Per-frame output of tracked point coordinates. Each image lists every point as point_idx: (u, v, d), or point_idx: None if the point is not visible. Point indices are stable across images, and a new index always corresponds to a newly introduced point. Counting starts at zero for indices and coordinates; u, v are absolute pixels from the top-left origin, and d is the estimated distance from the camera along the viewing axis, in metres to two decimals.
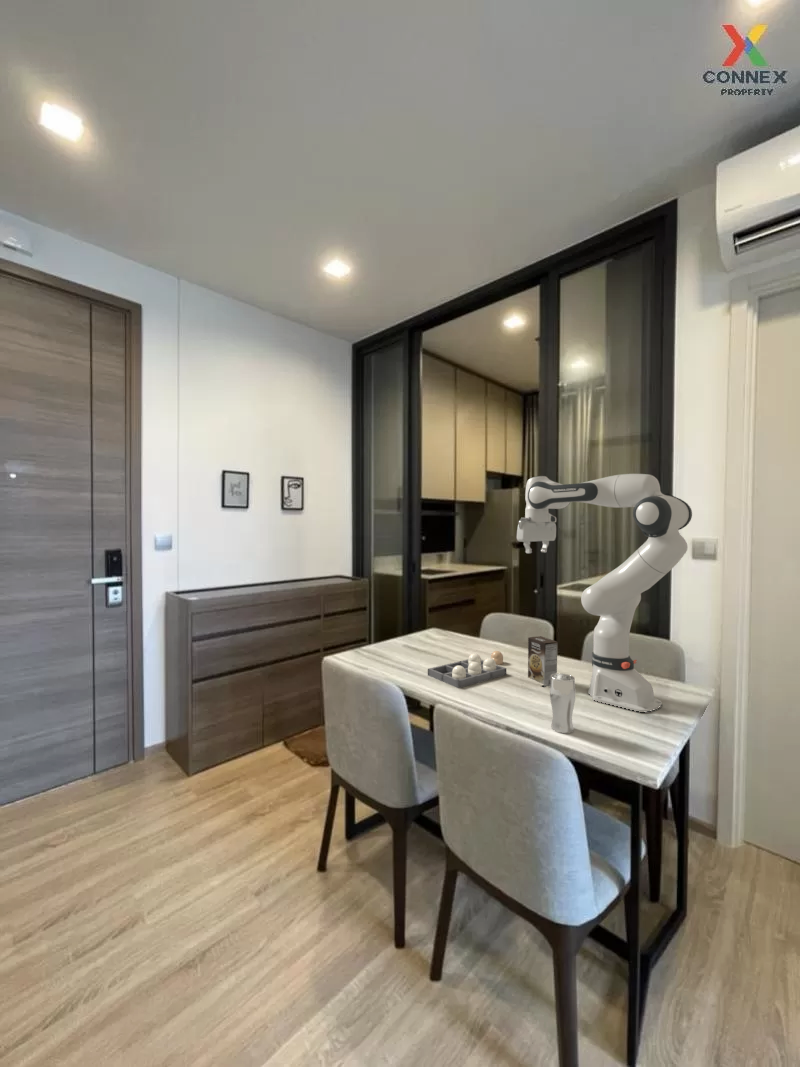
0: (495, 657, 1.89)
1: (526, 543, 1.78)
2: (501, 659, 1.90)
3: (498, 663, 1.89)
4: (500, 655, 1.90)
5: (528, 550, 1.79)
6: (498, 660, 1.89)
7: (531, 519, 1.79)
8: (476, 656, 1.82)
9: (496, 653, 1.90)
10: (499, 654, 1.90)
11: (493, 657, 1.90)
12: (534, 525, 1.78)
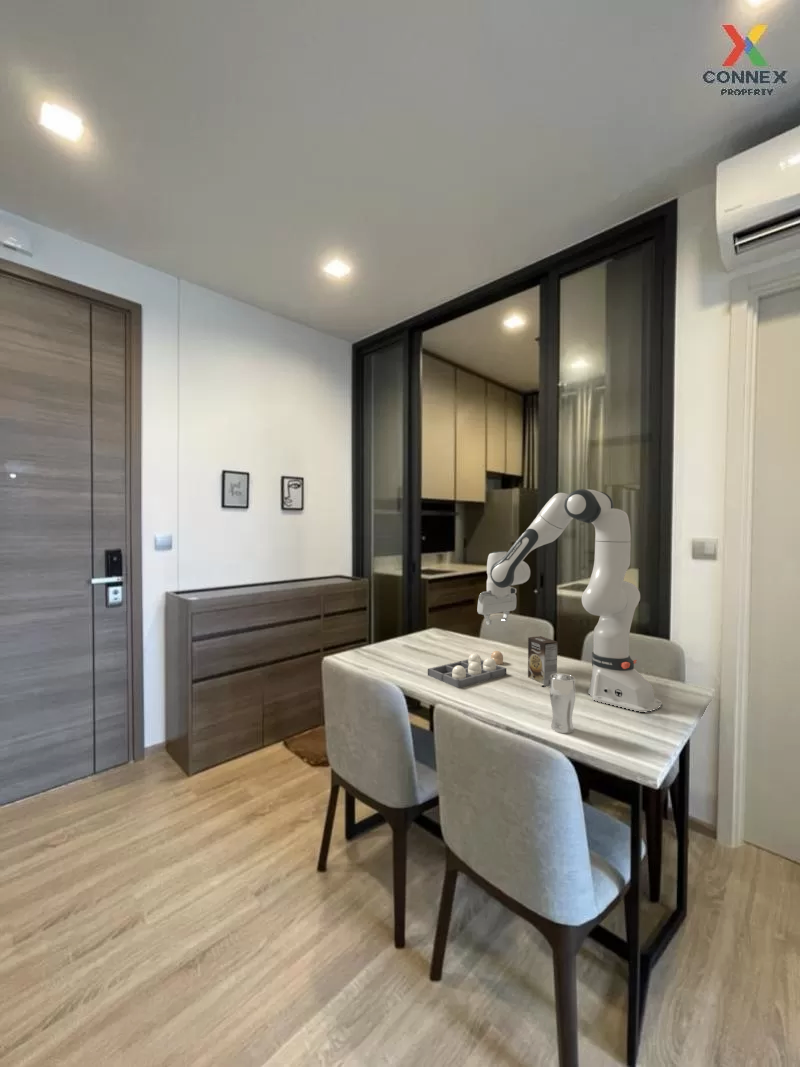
0: (495, 657, 1.89)
1: (486, 615, 1.87)
2: (501, 659, 1.90)
3: (498, 663, 1.89)
4: (500, 655, 1.90)
5: (488, 622, 1.88)
6: (498, 660, 1.89)
7: (491, 592, 1.88)
8: (476, 656, 1.82)
9: (496, 653, 1.90)
10: (499, 654, 1.90)
11: (493, 657, 1.90)
12: (494, 598, 1.88)
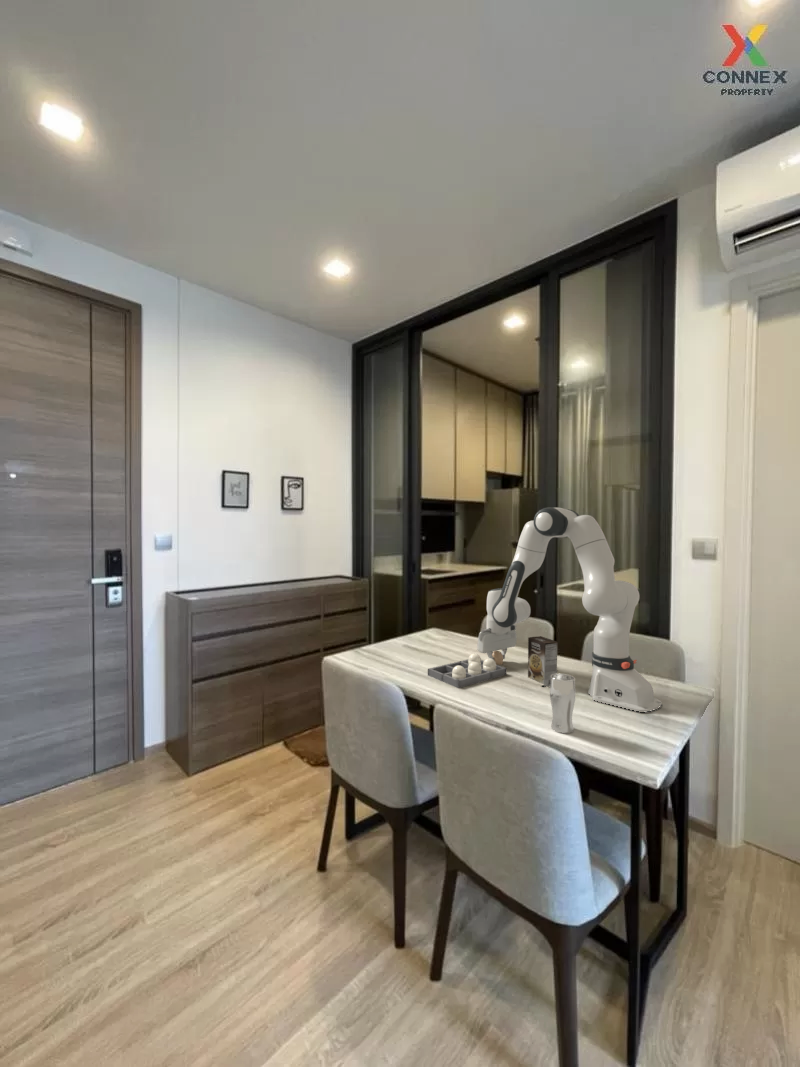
0: (495, 657, 1.89)
1: (489, 653, 1.88)
2: (501, 659, 1.90)
3: (498, 663, 1.89)
4: (500, 655, 1.90)
5: None
6: (498, 660, 1.89)
7: (491, 630, 1.88)
8: (476, 656, 1.82)
9: (496, 653, 1.90)
10: (499, 654, 1.90)
11: None
12: (494, 636, 1.88)
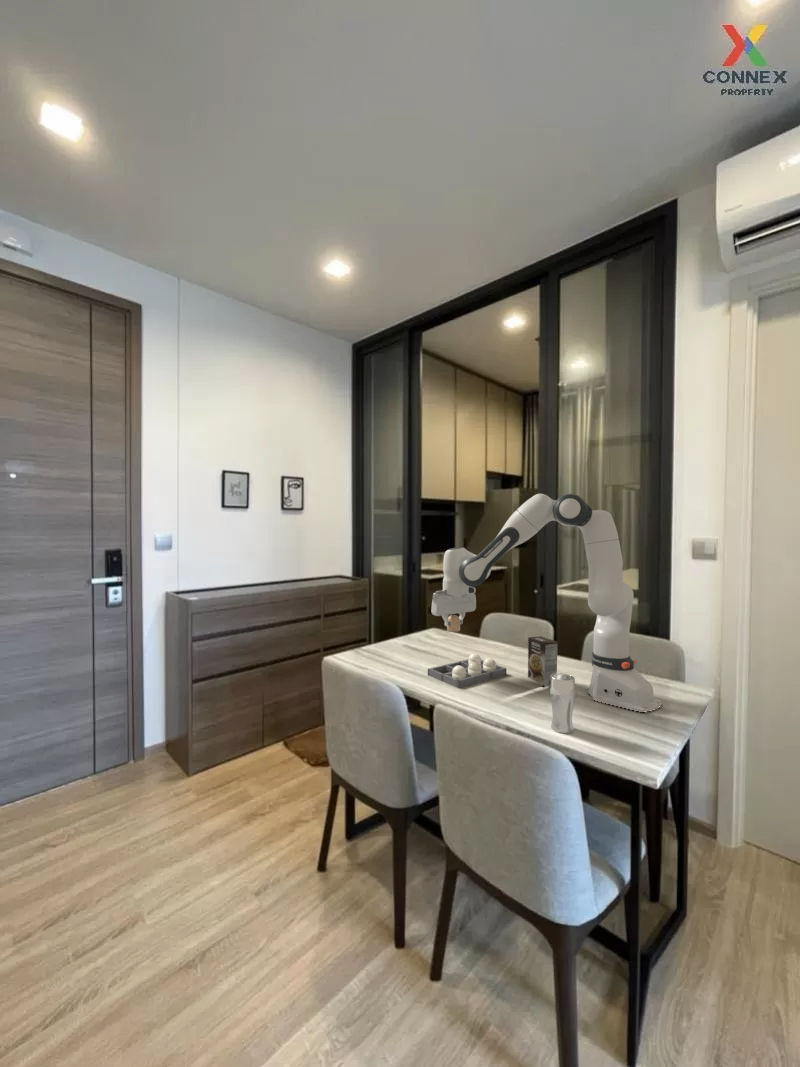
0: (451, 621, 1.76)
1: (444, 616, 1.74)
2: (457, 623, 1.76)
3: (454, 627, 1.75)
4: (456, 619, 1.76)
5: (446, 623, 1.75)
6: (454, 624, 1.75)
7: (447, 592, 1.74)
8: (476, 656, 1.82)
9: (452, 617, 1.76)
10: (455, 618, 1.76)
11: None
12: (450, 598, 1.74)
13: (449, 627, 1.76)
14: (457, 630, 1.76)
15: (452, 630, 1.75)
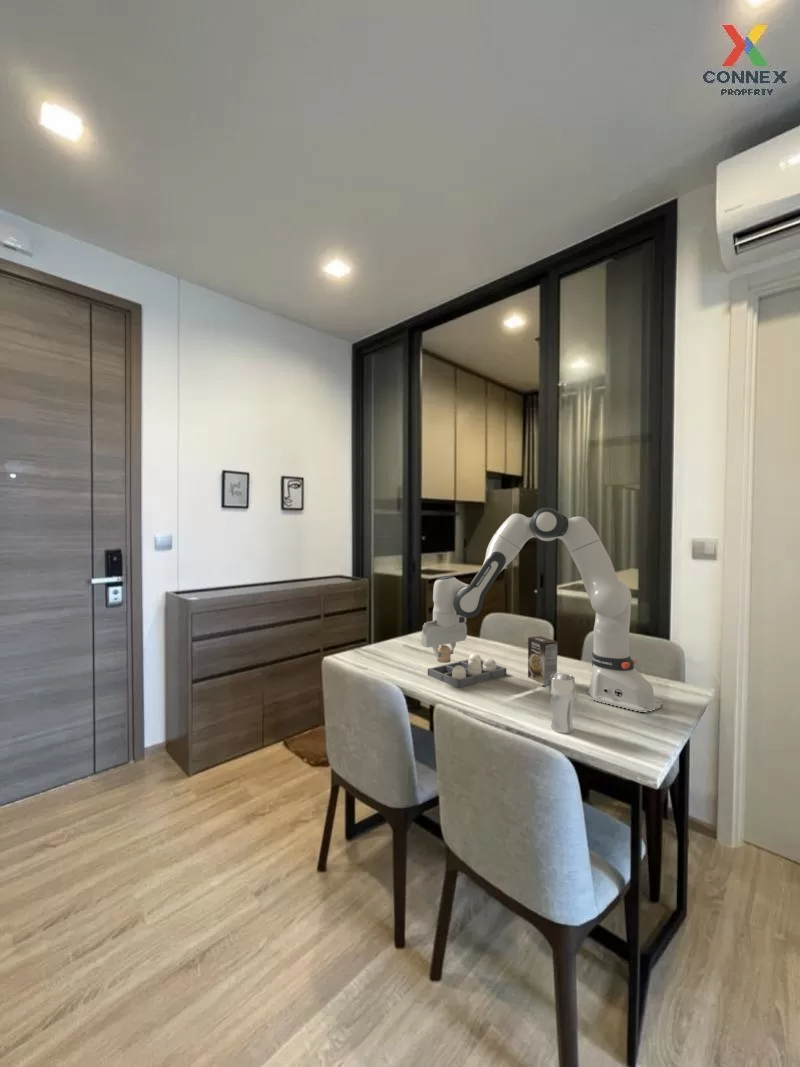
0: (441, 652, 1.73)
1: (434, 647, 1.71)
2: (448, 654, 1.73)
3: (444, 658, 1.72)
4: (447, 649, 1.73)
5: (437, 654, 1.72)
6: (444, 655, 1.72)
7: (437, 622, 1.71)
8: (476, 656, 1.82)
9: (442, 647, 1.73)
10: (446, 648, 1.73)
11: None
12: (440, 629, 1.71)
13: (439, 658, 1.73)
14: (447, 661, 1.73)
15: (442, 661, 1.72)
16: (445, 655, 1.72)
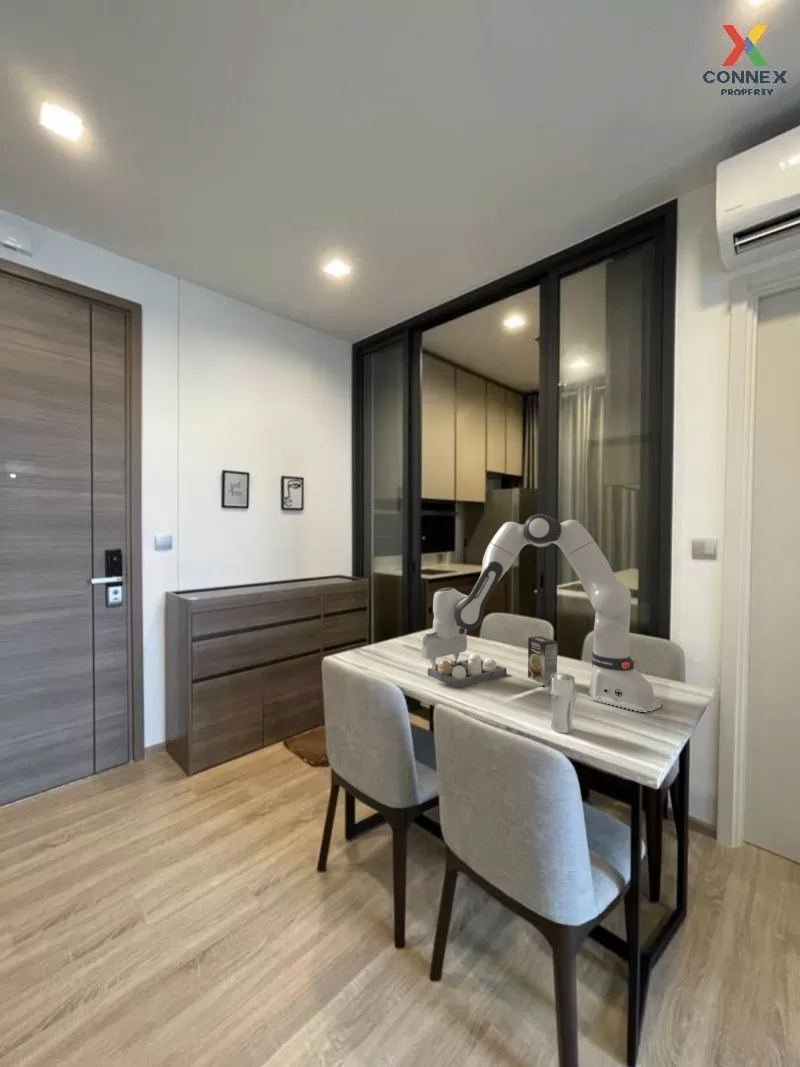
0: (442, 667, 1.73)
1: (431, 659, 1.70)
2: (448, 669, 1.73)
3: None
4: (447, 665, 1.73)
5: (434, 666, 1.71)
6: (445, 670, 1.72)
7: (437, 634, 1.71)
8: (476, 656, 1.82)
9: (443, 663, 1.73)
10: (446, 664, 1.73)
11: (440, 667, 1.73)
12: (440, 640, 1.71)
13: None
14: None
15: None
16: (445, 670, 1.72)
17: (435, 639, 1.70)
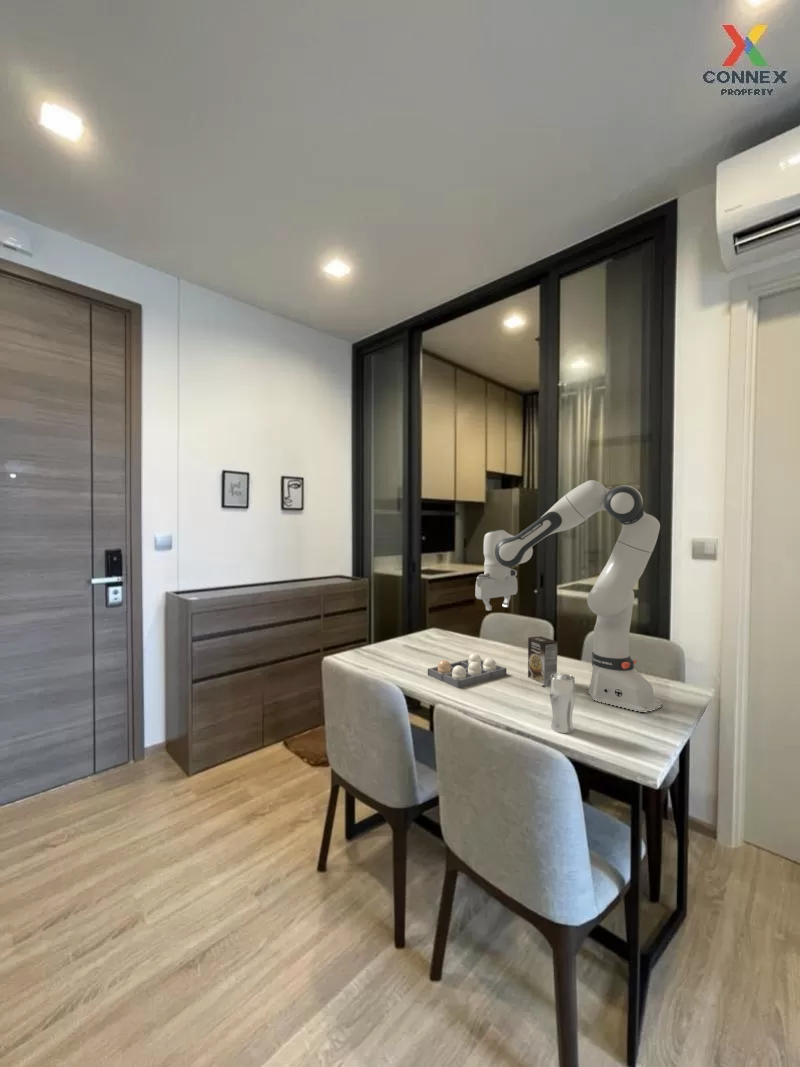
0: (442, 667, 1.73)
1: (485, 600, 1.72)
2: (448, 669, 1.73)
3: None
4: (447, 665, 1.73)
5: (488, 607, 1.72)
6: (445, 670, 1.72)
7: (490, 575, 1.73)
8: (476, 656, 1.82)
9: (443, 663, 1.73)
10: (446, 664, 1.73)
11: (440, 667, 1.73)
12: (493, 581, 1.72)
13: None
14: None
15: None
16: (445, 670, 1.72)
17: (488, 579, 1.71)
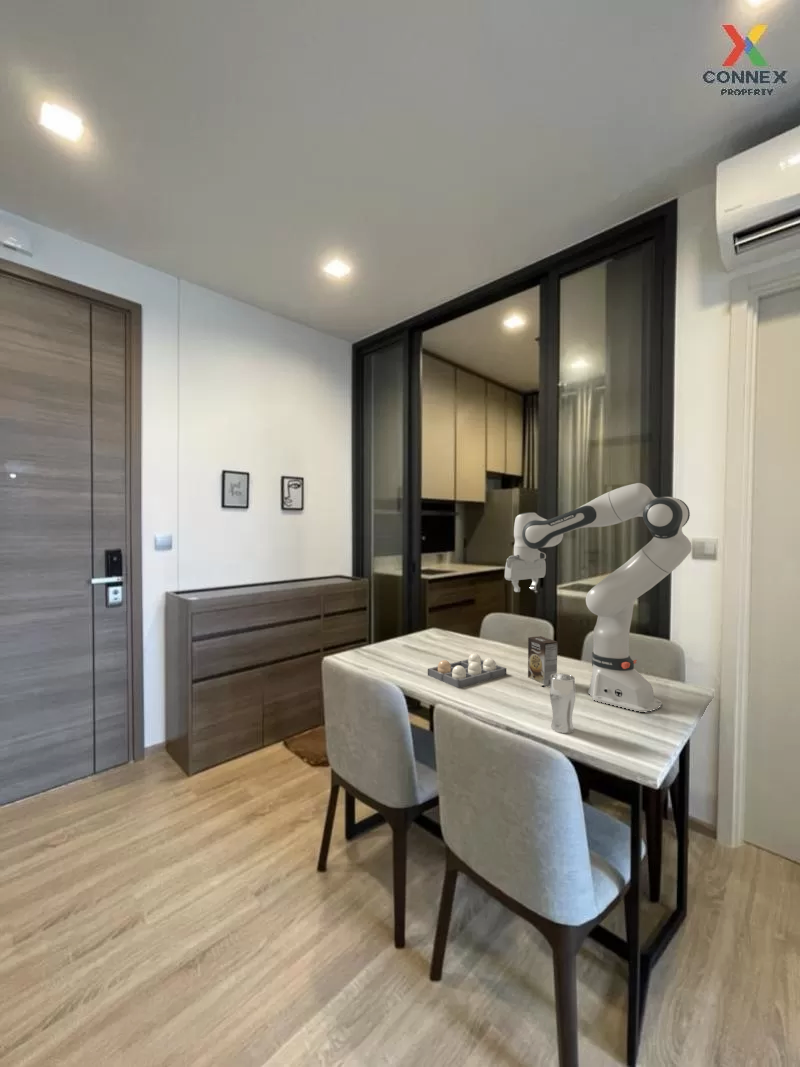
0: (442, 667, 1.73)
1: (514, 582, 1.73)
2: (448, 669, 1.73)
3: None
4: (447, 665, 1.73)
5: (516, 589, 1.73)
6: (445, 670, 1.72)
7: (519, 557, 1.73)
8: (476, 656, 1.82)
9: (443, 663, 1.73)
10: (446, 664, 1.73)
11: (440, 667, 1.73)
12: (522, 563, 1.73)
13: None
14: None
15: None
16: (445, 670, 1.72)
17: (518, 561, 1.72)
